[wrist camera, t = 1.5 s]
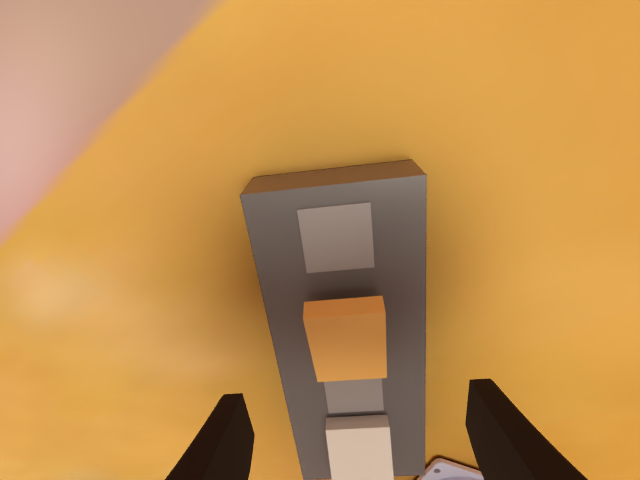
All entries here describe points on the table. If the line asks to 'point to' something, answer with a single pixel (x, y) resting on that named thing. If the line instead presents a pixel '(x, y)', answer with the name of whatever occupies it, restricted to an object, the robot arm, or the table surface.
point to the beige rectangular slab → (359, 447)
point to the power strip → (345, 294)
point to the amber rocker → (347, 338)
